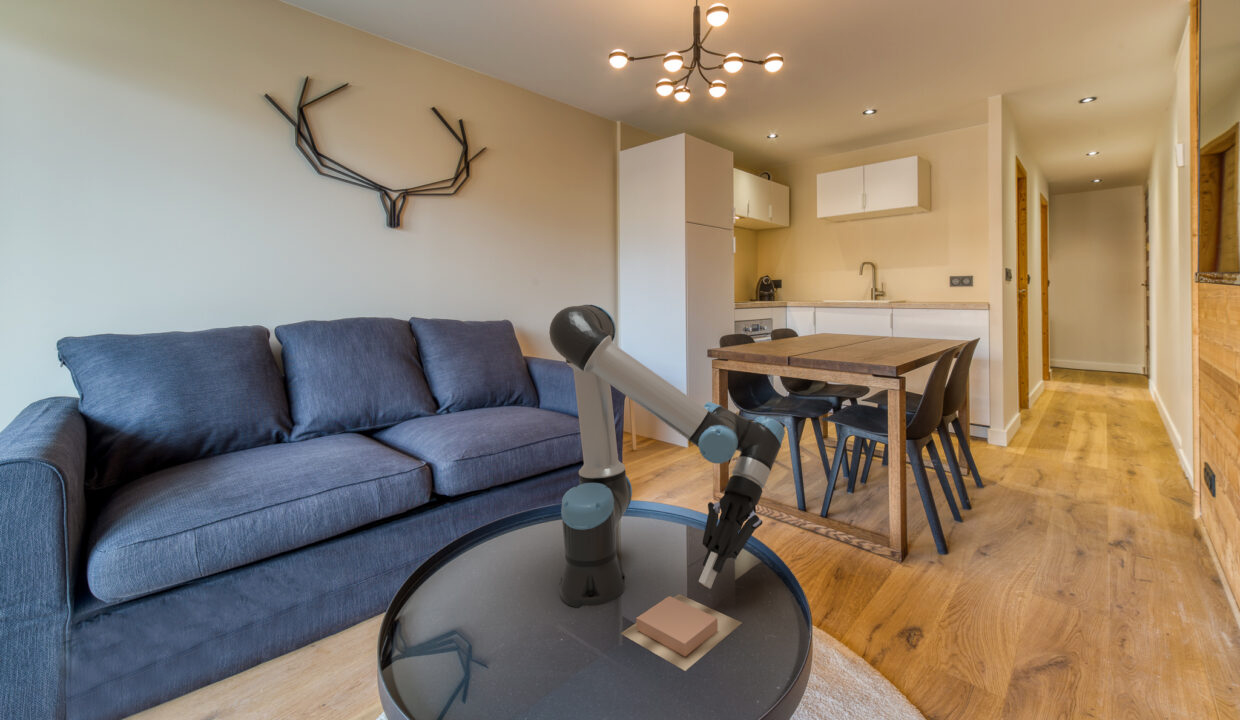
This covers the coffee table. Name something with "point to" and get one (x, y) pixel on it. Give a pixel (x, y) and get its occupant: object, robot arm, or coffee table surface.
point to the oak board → (684, 663)
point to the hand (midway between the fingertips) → (704, 584)
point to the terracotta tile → (677, 625)
